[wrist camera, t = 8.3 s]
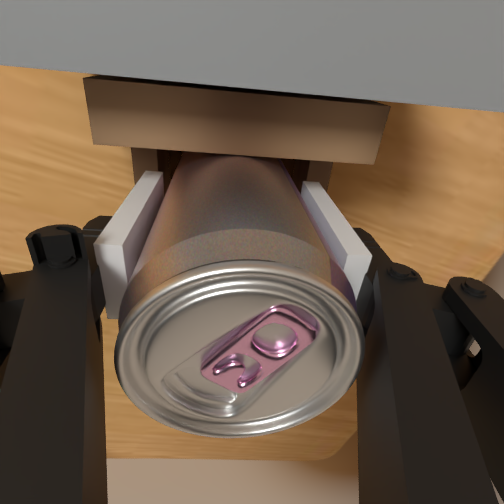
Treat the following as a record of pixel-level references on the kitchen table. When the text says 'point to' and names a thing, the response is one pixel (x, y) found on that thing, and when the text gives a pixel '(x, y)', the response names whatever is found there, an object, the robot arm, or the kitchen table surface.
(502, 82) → the backstop
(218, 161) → the beverage can
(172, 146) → the bracket
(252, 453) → the kitchen table surface
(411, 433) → the robot arm
